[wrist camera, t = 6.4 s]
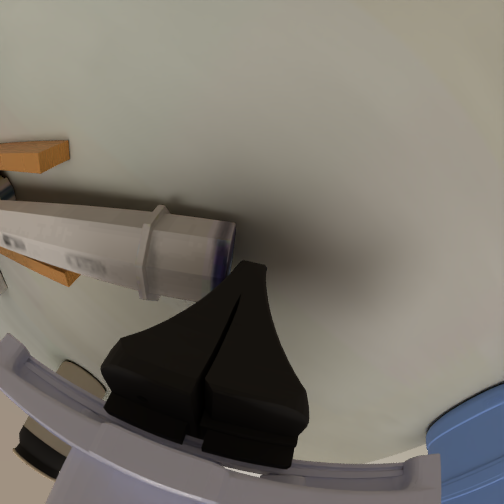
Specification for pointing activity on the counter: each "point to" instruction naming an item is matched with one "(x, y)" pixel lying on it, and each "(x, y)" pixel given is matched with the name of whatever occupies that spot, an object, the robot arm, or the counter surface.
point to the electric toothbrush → (121, 244)
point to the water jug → (471, 450)
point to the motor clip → (38, 161)
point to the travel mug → (44, 442)
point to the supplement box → (2, 285)
